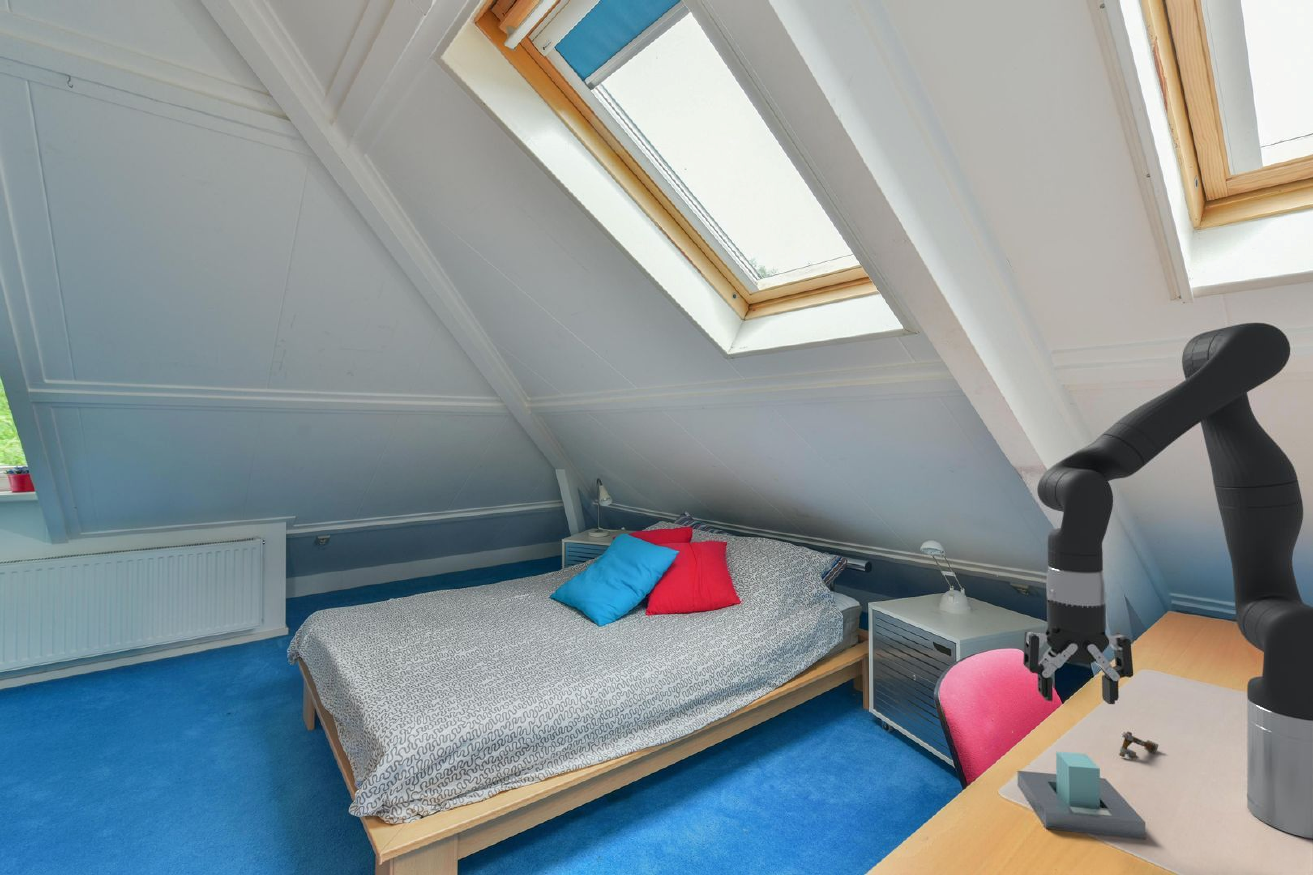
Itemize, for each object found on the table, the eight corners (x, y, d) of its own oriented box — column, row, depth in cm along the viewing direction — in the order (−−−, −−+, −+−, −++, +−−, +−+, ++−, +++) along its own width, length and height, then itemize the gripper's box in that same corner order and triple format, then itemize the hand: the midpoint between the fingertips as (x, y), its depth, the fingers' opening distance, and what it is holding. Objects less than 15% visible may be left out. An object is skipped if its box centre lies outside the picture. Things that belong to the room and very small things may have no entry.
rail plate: (1105, 793, 98) (1105, 777, 98) (1145, 838, 87) (1145, 821, 87) (1017, 785, 101) (1017, 769, 101) (1045, 828, 90) (1045, 811, 90)
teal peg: (1085, 803, 96) (1085, 753, 96) (1099, 820, 92) (1099, 768, 92) (1056, 800, 97) (1056, 751, 96) (1069, 817, 93) (1069, 766, 92)
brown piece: (1112, 752, 109) (1119, 727, 109) (1141, 762, 111) (1148, 738, 112) (1122, 757, 107) (1130, 732, 108) (1152, 767, 109) (1159, 743, 110)
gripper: (1114, 591, 96) (1116, 692, 96) (1015, 589, 99) (1017, 687, 99) (1142, 605, 88) (1144, 715, 89) (1034, 602, 91) (1037, 708, 91)
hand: (1077, 700), depth 94 cm, fingers open, 8 cm apart
